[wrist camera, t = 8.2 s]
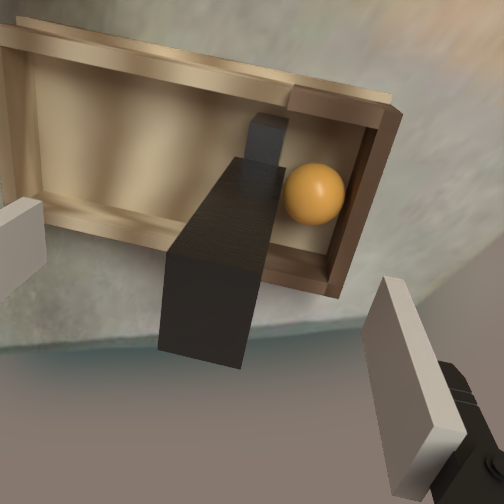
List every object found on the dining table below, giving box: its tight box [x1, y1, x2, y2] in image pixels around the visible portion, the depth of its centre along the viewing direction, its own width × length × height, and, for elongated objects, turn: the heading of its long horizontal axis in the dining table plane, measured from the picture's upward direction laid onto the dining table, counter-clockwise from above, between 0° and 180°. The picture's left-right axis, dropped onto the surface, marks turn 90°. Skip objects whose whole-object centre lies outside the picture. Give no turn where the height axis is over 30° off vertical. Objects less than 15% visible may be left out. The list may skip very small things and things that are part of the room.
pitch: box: [0, 16, 403, 299], centre depth 26 cm, size 24×13×5 cm, turn 80°
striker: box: [158, 112, 289, 369], centre depth 20 cm, size 3×8×16 cm, turn 170°
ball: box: [282, 163, 345, 226], centre depth 26 cm, size 4×4×4 cm
